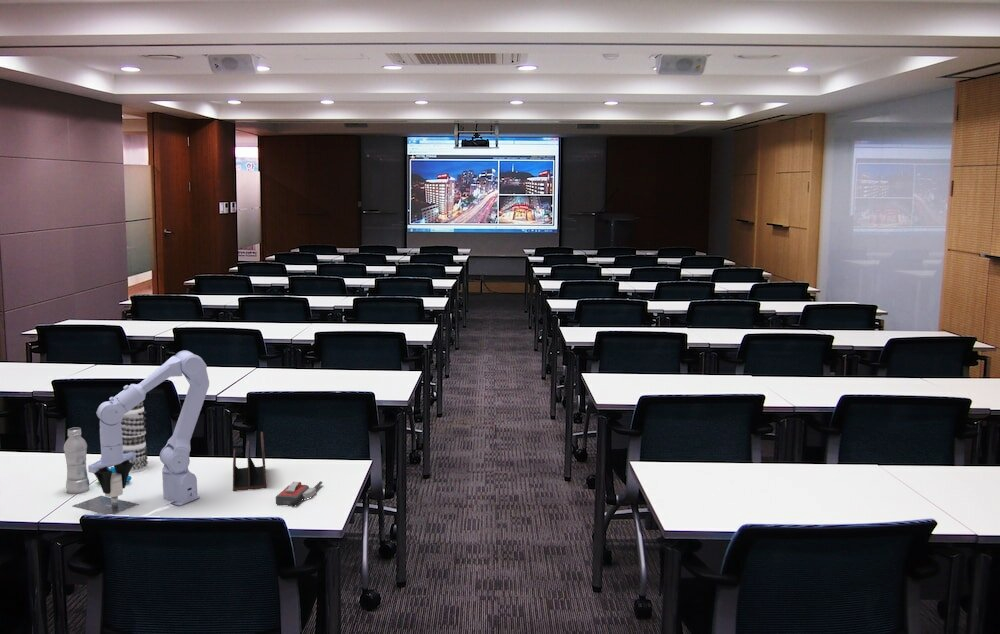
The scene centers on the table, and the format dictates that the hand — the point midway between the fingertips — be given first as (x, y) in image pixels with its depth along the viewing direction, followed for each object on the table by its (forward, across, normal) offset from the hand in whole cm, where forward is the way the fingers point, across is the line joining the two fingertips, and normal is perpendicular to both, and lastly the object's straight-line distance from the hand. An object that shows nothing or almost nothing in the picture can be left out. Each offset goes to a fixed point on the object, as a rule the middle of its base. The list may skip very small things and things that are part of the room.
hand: (114, 490), depth 251 cm
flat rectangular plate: (+6, 0, -4) cm, 7 cm away
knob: (+1, 0, 0) cm, 1 cm away
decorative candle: (+6, -30, -27) cm, 41 cm away
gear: (+6, -14, -18) cm, 24 cm away
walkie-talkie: (+7, -34, +38) cm, 52 cm away
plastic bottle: (+6, -5, -22) cm, 23 cm away
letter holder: (+6, -39, +15) cm, 42 cm away
